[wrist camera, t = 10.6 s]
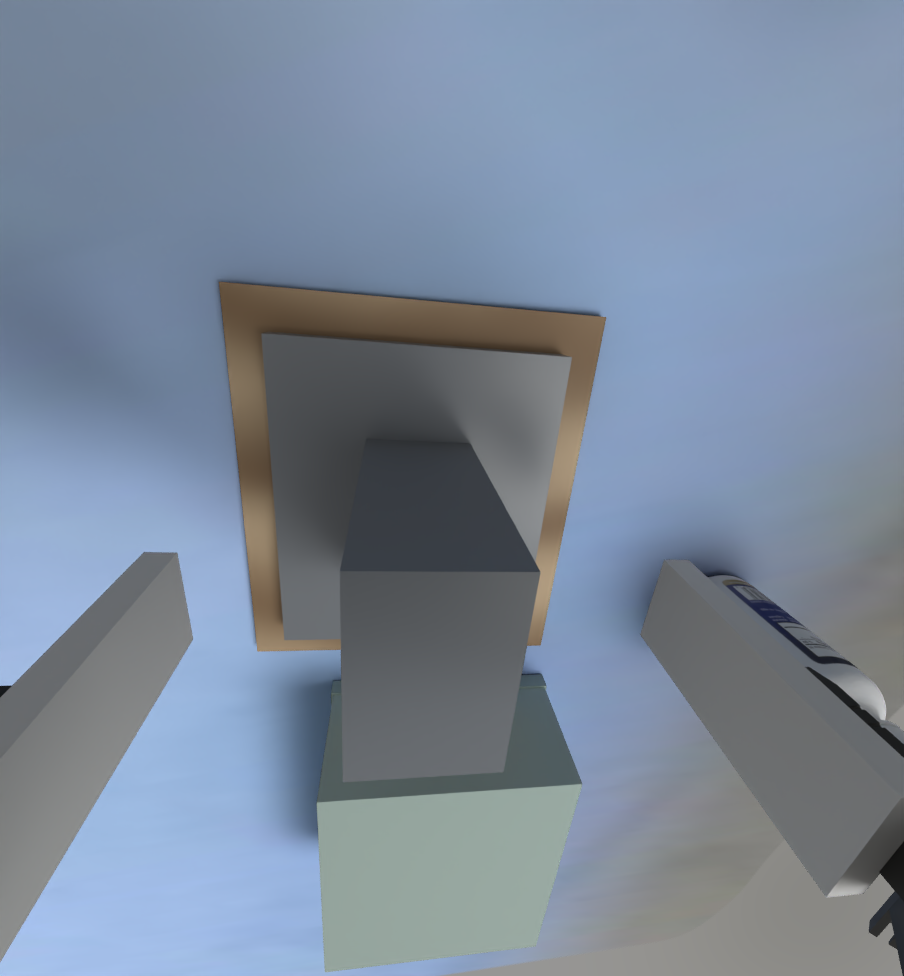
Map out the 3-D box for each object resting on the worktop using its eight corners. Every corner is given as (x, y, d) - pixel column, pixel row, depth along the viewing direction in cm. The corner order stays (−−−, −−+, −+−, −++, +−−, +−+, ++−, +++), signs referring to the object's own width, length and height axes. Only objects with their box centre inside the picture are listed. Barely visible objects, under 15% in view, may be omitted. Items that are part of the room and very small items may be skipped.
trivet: (223, 282, 15) (218, 281, 15) (601, 317, 17) (606, 317, 17) (259, 645, 21) (257, 651, 21) (538, 640, 23) (540, 645, 23)
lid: (269, 331, 16) (97, 372, 7) (562, 354, 17) (751, 411, 8) (289, 625, 21) (206, 881, 12) (516, 622, 22) (603, 845, 13)
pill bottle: (666, 665, 25) (814, 862, 16) (651, 593, 23) (812, 777, 14) (756, 631, 25) (955, 813, 16) (749, 557, 23) (975, 719, 14)
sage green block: (332, 680, 23) (314, 800, 17) (541, 674, 24) (585, 782, 19) (336, 840, 28) (322, 973, 22) (510, 826, 29) (537, 947, 24)
